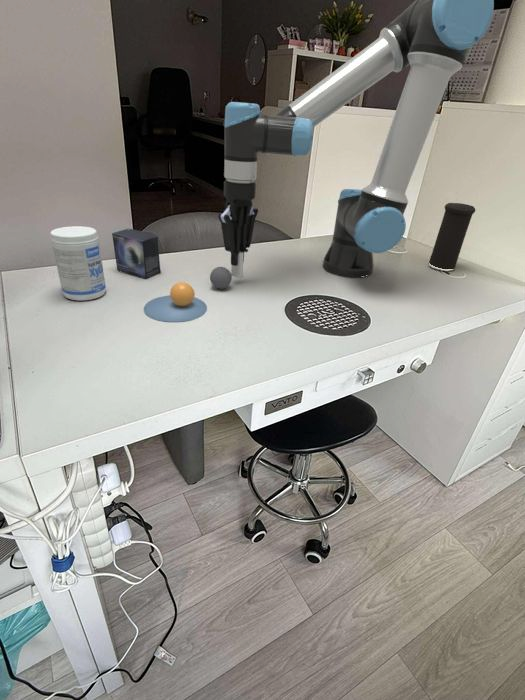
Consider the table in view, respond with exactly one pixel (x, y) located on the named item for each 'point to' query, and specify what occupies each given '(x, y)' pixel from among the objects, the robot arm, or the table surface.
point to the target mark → (174, 310)
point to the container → (451, 235)
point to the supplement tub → (78, 262)
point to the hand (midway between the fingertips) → (236, 275)
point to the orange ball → (182, 294)
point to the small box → (136, 253)
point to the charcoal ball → (220, 277)
